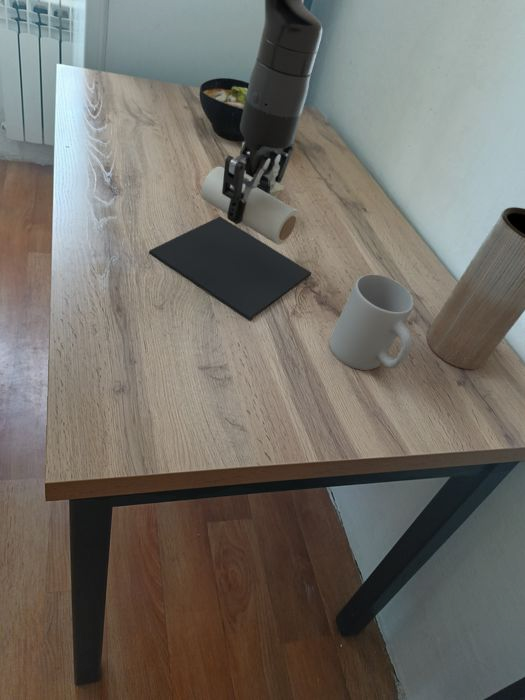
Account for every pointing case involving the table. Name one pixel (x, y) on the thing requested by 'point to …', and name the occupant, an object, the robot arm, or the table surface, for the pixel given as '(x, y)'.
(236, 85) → the bowl
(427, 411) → the table surface
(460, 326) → the planter
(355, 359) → the mug
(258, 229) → the towel roll
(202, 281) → the mat
